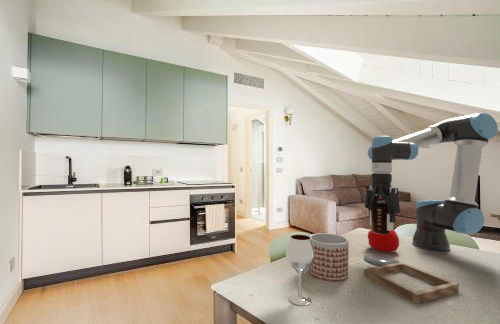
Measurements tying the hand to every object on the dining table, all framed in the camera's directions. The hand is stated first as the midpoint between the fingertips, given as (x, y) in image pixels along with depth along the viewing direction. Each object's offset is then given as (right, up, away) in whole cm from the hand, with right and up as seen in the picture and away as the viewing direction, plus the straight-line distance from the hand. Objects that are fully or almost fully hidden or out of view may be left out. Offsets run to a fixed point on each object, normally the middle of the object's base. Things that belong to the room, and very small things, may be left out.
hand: (381, 227), depth 102 cm
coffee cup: (0, -2, 0) cm, 2 cm away
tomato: (+8, -14, +14) cm, 22 cm away
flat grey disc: (0, -14, 0) cm, 14 cm away
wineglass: (-41, -13, -31) cm, 53 cm away
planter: (-26, -13, -13) cm, 32 cm away
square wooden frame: (-2, -13, -20) cm, 24 cm away
